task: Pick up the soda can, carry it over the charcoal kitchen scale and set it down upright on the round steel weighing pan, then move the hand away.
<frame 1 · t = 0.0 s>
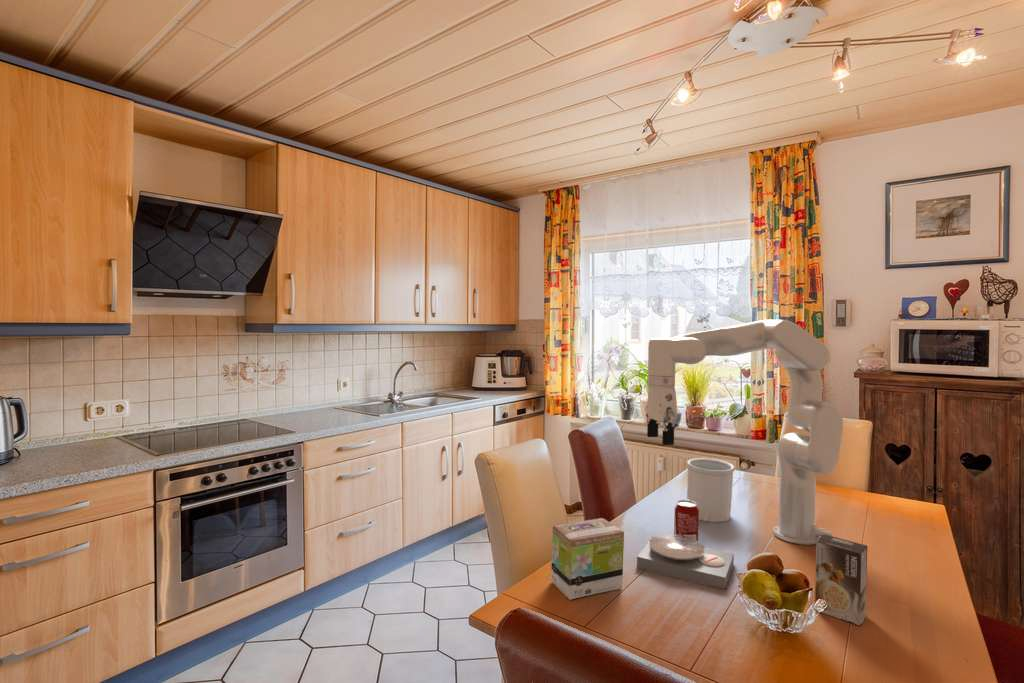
hand: (660, 440, 151), 31 cm above the table, tool pointing down, fingers open, 9 cm apart
utensil holder: (709, 515, 178), on the table
tea box: (586, 586, 131), on the table
coffee box: (839, 613, 119), on the table
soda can: (685, 543, 156), on the table
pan: (676, 548, 142), point 4 cm above the table, slide at 0.3 cm
scale: (685, 566, 141), on the table
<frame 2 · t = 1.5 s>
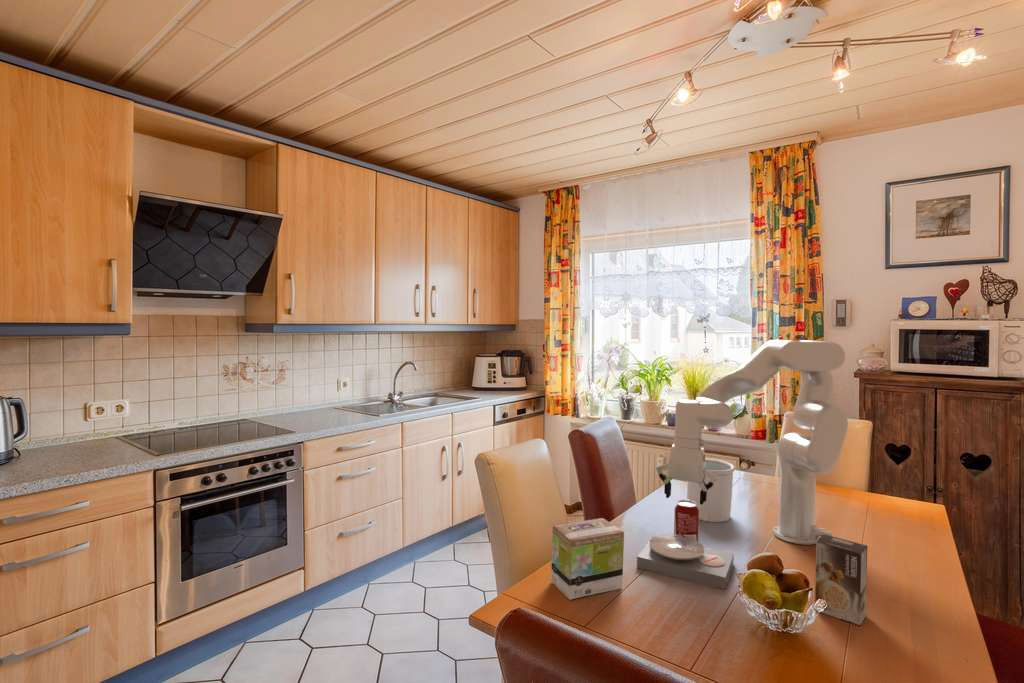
hand: (684, 499, 155), 13 cm above the table, tool pointing down, fingers open, 9 cm apart
nothing on the table moved.
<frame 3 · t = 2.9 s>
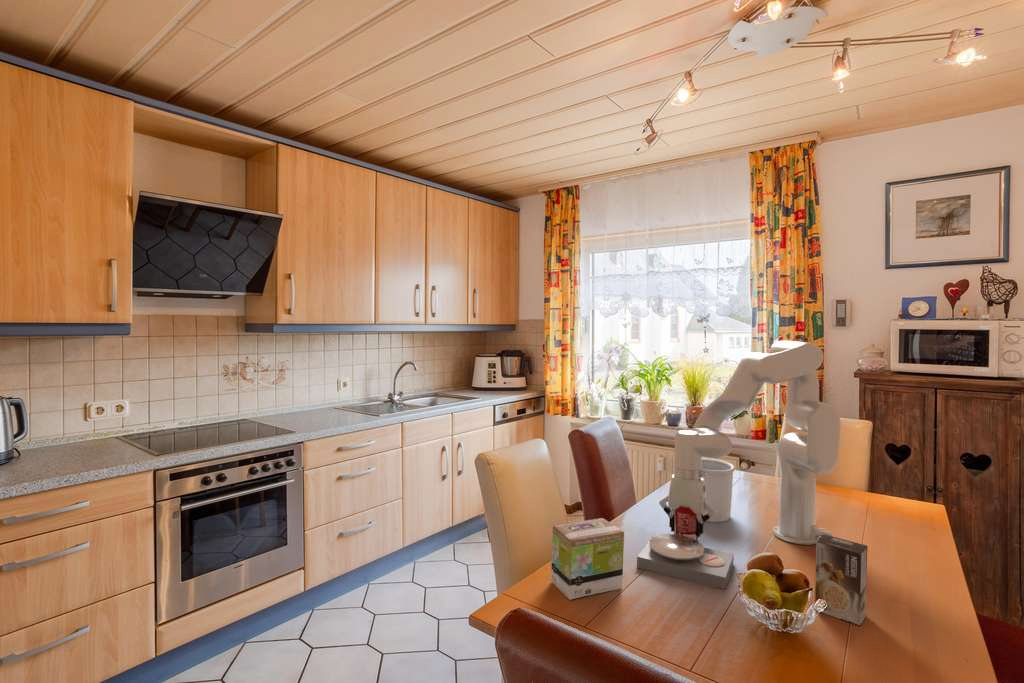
hand: (686, 532, 155), 3 cm above the table, tool pointing down, fingers closed on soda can, 6 cm apart
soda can: (685, 543, 156), on the table, touching gripper
everything else where it was.
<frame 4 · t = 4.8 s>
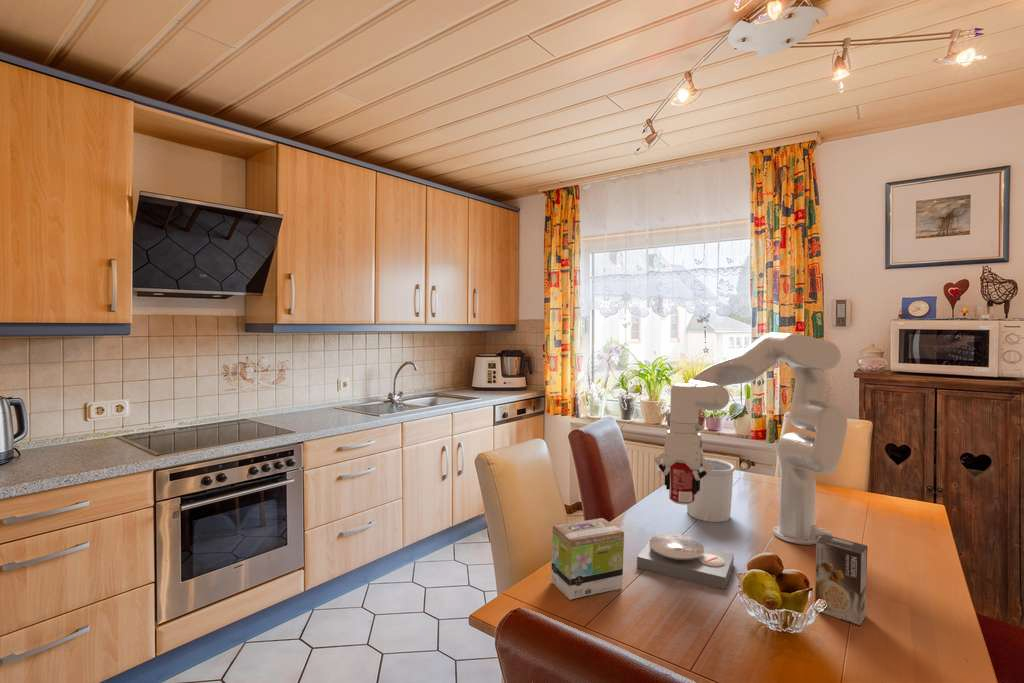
hand: (681, 490, 148), 18 cm above the table, tool pointing down, fingers closed on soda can, 6 cm apart
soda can: (681, 502, 148), point 15 cm above the table, touching gripper
everything else where it was.
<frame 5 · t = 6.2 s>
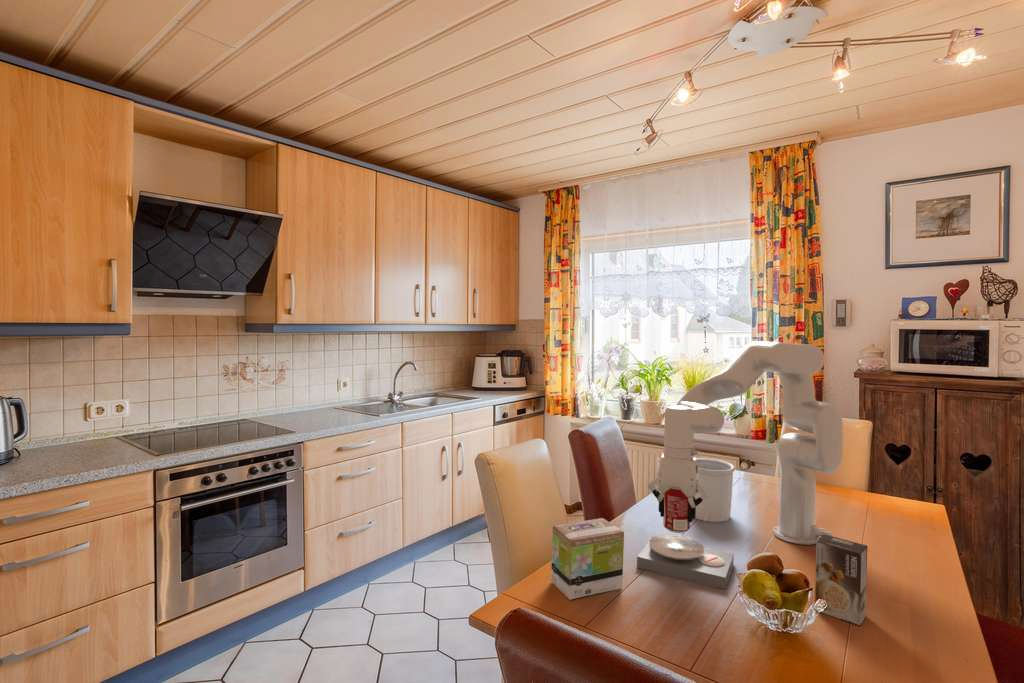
hand: (676, 517, 142), 13 cm above the table, tool pointing down, fingers closed on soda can, 6 cm apart
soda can: (676, 529, 142), point 9 cm above the table, touching gripper
everything else where it was.
when the fingers open (10 cm above the table, at t = 7.2 s): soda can drops 1 cm, resting on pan.
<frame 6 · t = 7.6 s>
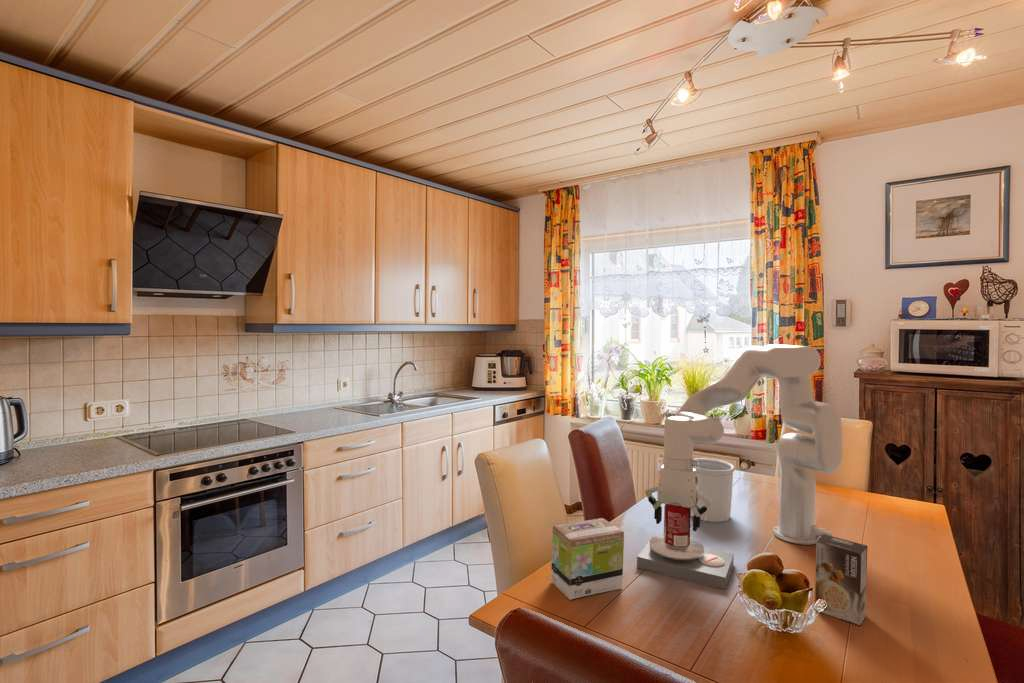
hand: (676, 525, 142), 10 cm above the table, tool pointing down, fingers open, 9 cm apart
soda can: (676, 545, 142), point 5 cm above the table, touching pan
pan: (676, 548, 142), point 4 cm above the table, slide at 0.4 cm, touching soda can
everything else where it was.
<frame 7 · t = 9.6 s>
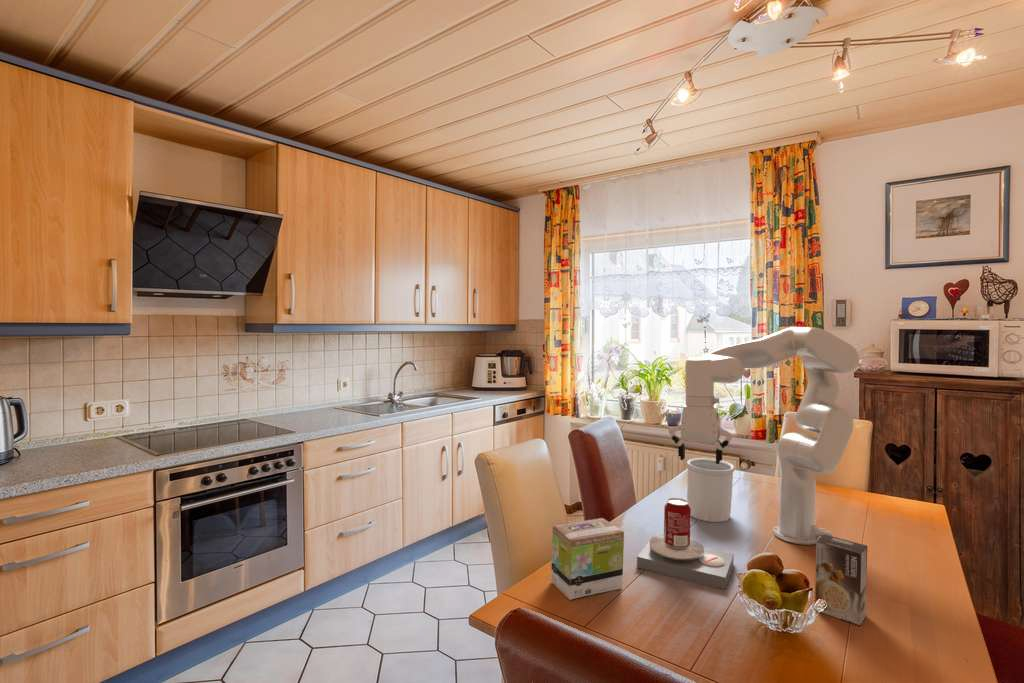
hand: (700, 460, 150), 26 cm above the table, tool pointing down, fingers open, 9 cm apart
nothing on the table moved.
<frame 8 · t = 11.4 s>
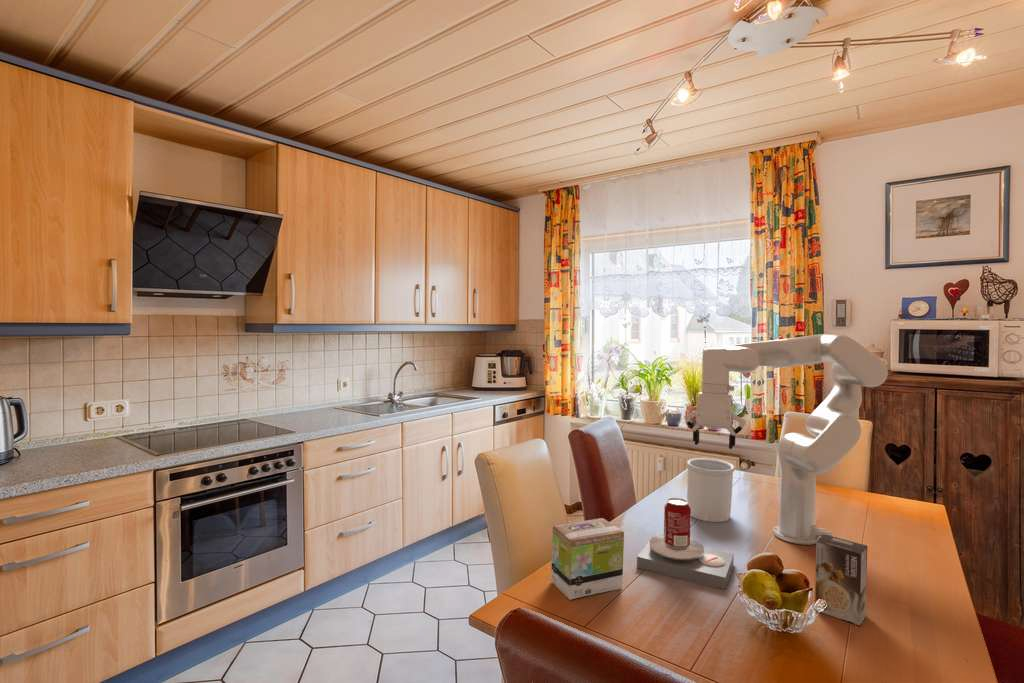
hand: (713, 445, 157), 28 cm above the table, tool pointing down, fingers open, 9 cm apart
nothing on the table moved.
at the end: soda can inside the target area on the scale (0.1 cm from its centre), point 5.0 cm above the scale's base; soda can tilted 0°; the gripper is holding nothing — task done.
